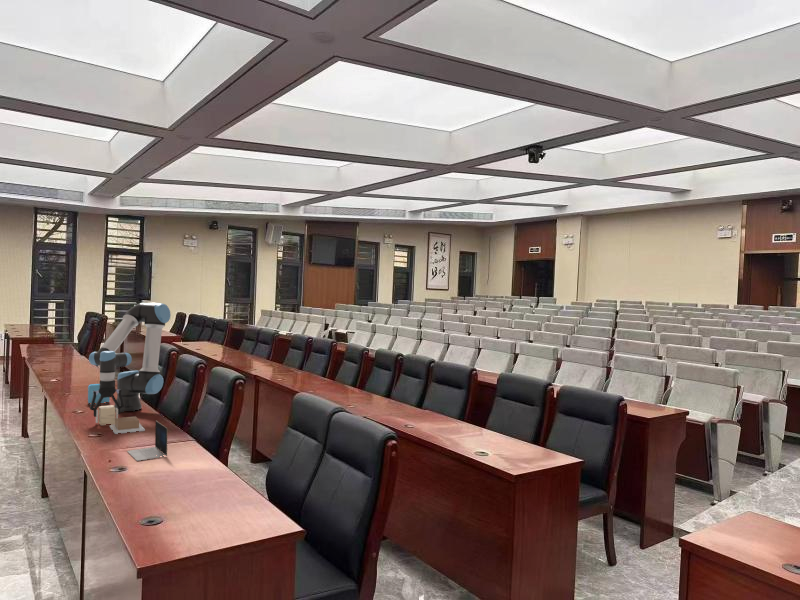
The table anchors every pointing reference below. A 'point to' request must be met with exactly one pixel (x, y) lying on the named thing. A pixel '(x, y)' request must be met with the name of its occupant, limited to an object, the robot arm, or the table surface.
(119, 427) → the white tray
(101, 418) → the maple block
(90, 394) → the data package
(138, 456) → the laptop
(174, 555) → the table surface
